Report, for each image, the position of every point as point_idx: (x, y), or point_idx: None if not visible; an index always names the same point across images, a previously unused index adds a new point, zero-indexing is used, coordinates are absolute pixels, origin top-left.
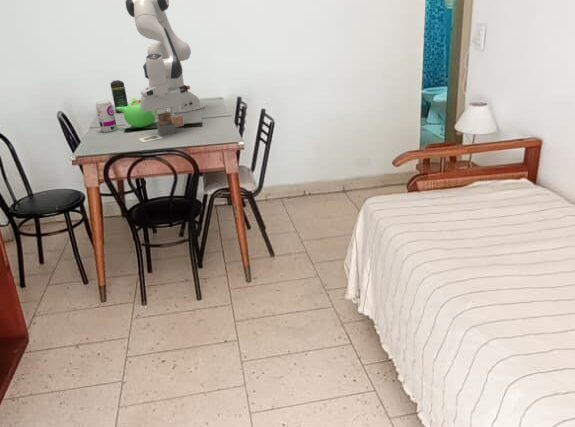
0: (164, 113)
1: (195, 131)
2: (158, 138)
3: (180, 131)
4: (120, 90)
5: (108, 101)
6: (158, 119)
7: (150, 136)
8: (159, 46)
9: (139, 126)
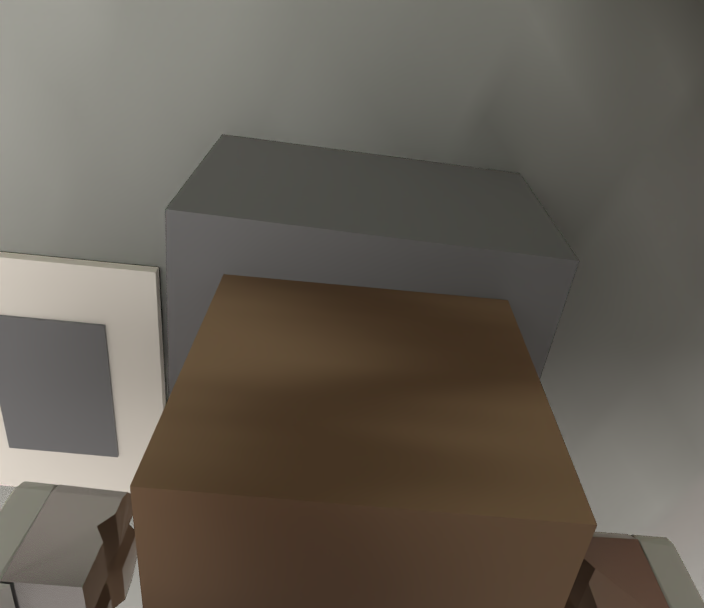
0: (410, 600)
1: (693, 537)
2: (102, 483)
3: (576, 368)
4: None
5: None
6: (190, 369)
7: (9, 279)
8: None
9: None
